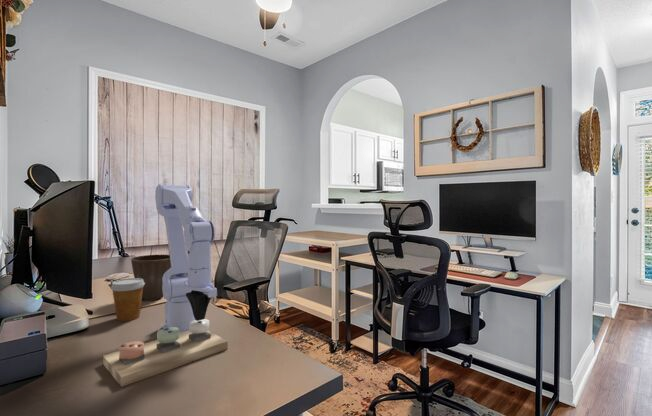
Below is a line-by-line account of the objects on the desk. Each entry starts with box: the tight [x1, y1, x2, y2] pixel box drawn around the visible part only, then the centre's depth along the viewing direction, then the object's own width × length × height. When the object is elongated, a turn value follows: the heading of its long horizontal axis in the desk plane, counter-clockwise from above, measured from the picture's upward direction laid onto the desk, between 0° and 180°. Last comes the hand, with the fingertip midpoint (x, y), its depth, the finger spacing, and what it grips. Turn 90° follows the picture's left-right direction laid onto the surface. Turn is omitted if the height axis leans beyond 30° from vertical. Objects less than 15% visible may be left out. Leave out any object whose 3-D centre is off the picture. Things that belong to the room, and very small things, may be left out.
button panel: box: [102, 330, 229, 388], centre depth 81 cm, size 14×24×3 cm, turn 137°
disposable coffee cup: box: [110, 277, 145, 322], centre depth 107 cm, size 10×10×12 cm
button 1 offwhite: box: [190, 318, 210, 333], centre depth 87 cm, size 5×5×2 cm
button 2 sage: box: [156, 327, 179, 343], centre depth 81 cm, size 5×5×2 cm
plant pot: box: [130, 254, 171, 301], centre depth 130 cm, size 15×15×16 cm
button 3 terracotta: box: [118, 340, 145, 360], centre depth 75 cm, size 5×5×2 cm
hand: (199, 319), depth 86 cm, fingers closed
